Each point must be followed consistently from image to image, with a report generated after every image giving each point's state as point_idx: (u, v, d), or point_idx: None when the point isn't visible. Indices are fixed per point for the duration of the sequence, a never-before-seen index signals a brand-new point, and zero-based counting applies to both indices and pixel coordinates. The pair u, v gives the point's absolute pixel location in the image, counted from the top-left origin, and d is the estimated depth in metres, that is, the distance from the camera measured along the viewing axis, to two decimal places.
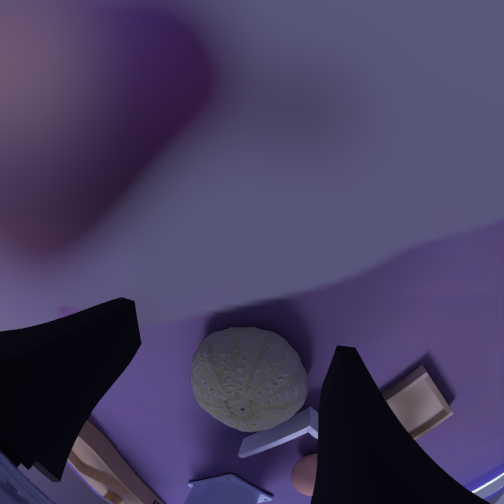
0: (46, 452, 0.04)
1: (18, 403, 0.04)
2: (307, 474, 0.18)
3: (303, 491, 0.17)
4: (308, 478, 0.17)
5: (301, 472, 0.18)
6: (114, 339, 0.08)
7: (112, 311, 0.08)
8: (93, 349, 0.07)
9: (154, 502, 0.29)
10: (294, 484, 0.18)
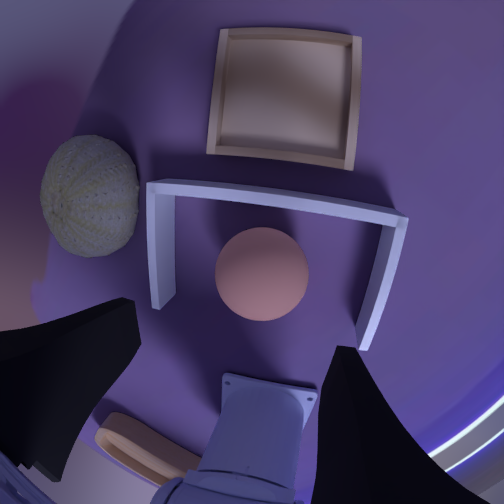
0: (46, 452, 0.04)
1: (18, 403, 0.04)
2: (217, 266, 0.14)
3: (237, 305, 0.13)
4: (219, 270, 0.13)
5: (215, 272, 0.14)
6: (114, 339, 0.08)
7: (112, 311, 0.08)
8: (93, 349, 0.07)
9: None
10: (225, 303, 0.14)
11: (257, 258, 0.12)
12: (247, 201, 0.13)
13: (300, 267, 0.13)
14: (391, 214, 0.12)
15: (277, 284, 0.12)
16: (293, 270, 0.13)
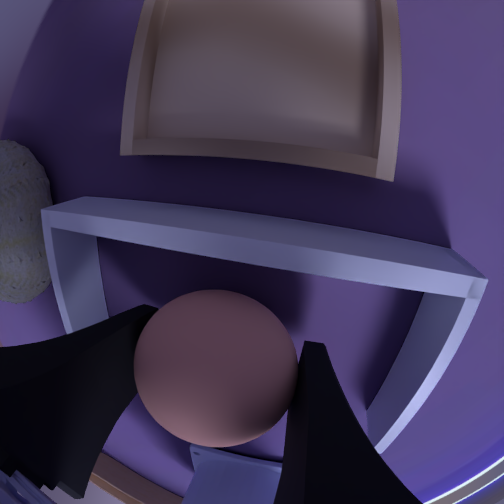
0: (69, 470, 0.04)
1: (42, 424, 0.03)
2: (134, 361, 0.07)
3: (167, 430, 0.06)
4: (135, 373, 0.06)
5: None
6: None
7: (137, 320, 0.07)
8: (118, 360, 0.07)
9: None
10: None
11: (188, 375, 0.05)
12: (176, 248, 0.07)
13: (278, 382, 0.06)
14: (462, 274, 0.05)
15: (231, 421, 0.05)
16: (264, 393, 0.06)
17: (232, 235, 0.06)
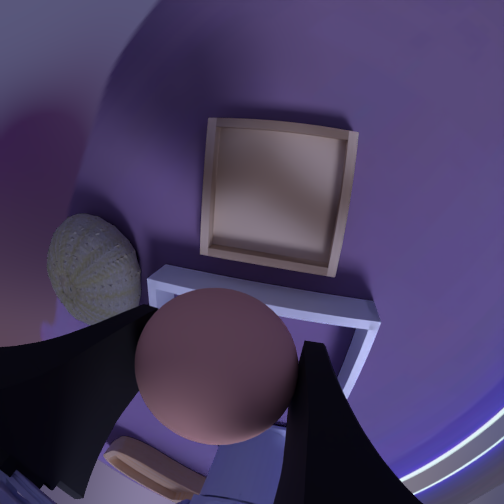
0: (69, 470, 0.04)
1: (42, 424, 0.03)
2: (135, 359, 0.07)
3: (169, 428, 0.06)
4: (136, 371, 0.06)
5: None
6: None
7: (137, 320, 0.07)
8: (118, 360, 0.07)
9: None
10: None
11: (190, 372, 0.05)
12: None
13: (279, 379, 0.06)
14: (365, 319, 0.14)
15: (232, 418, 0.05)
16: (265, 390, 0.06)
17: None
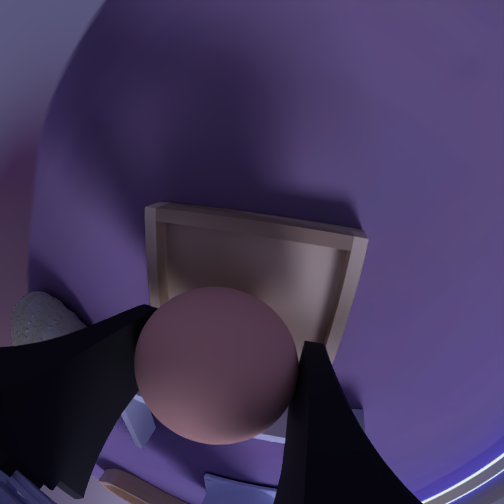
0: (69, 470, 0.04)
1: (42, 425, 0.03)
2: (134, 359, 0.07)
3: (168, 427, 0.06)
4: (135, 370, 0.06)
5: None
6: None
7: (137, 320, 0.07)
8: (118, 360, 0.07)
9: None
10: None
11: (190, 372, 0.05)
12: None
13: (279, 378, 0.06)
14: None
15: (232, 418, 0.05)
16: (265, 389, 0.06)
17: None
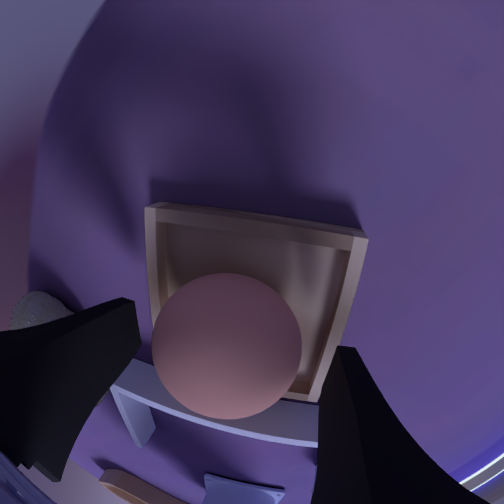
0: (46, 452, 0.04)
1: (18, 403, 0.04)
2: (152, 339, 0.08)
3: (183, 403, 0.07)
4: (153, 349, 0.07)
5: None
6: (114, 339, 0.08)
7: (112, 311, 0.08)
8: (93, 349, 0.07)
9: None
10: None
11: (207, 344, 0.06)
12: (204, 424, 0.11)
13: (285, 352, 0.07)
14: None
15: (244, 388, 0.06)
16: (273, 361, 0.07)
17: (231, 426, 0.11)
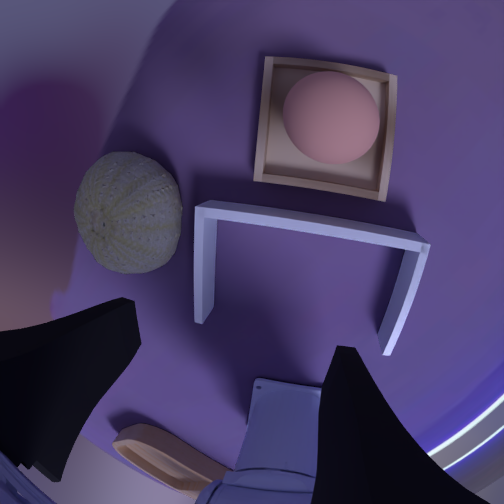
0: (46, 452, 0.04)
1: (18, 403, 0.04)
2: (290, 96, 0.11)
3: (319, 124, 0.10)
4: (295, 96, 0.11)
5: (285, 108, 0.12)
6: (114, 339, 0.08)
7: (112, 311, 0.08)
8: (93, 349, 0.07)
9: None
10: (300, 134, 0.11)
11: (337, 78, 0.10)
12: (295, 229, 0.15)
13: None
14: (416, 241, 0.14)
15: (361, 101, 0.10)
16: (370, 96, 0.10)
17: (322, 223, 0.14)
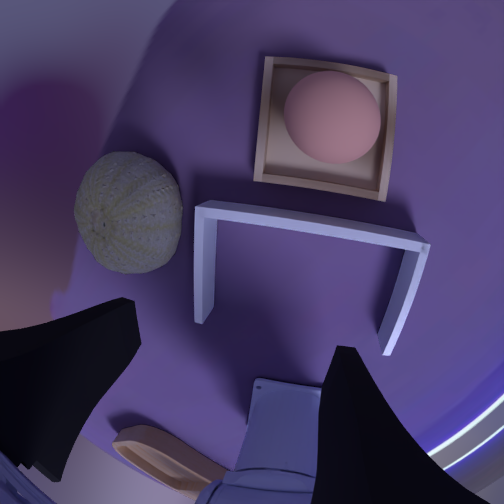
0: (46, 452, 0.04)
1: (18, 403, 0.04)
2: (292, 95, 0.11)
3: (321, 123, 0.10)
4: (297, 95, 0.11)
5: (286, 107, 0.12)
6: (114, 339, 0.08)
7: (112, 311, 0.08)
8: (93, 349, 0.07)
9: None
10: (302, 134, 0.11)
11: (340, 78, 0.10)
12: (295, 229, 0.15)
13: (375, 99, 0.10)
14: (416, 241, 0.14)
15: (363, 100, 0.10)
16: (372, 96, 0.10)
17: (322, 223, 0.14)
